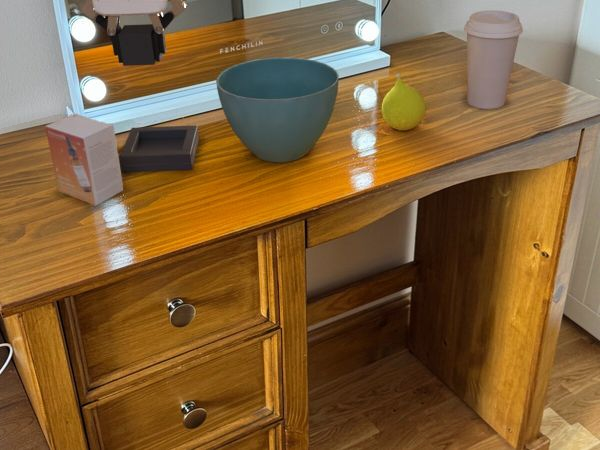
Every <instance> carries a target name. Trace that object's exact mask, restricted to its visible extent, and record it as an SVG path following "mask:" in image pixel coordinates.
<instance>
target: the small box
mask: <svg viewBox="0 0 600 450" xmlns="http://www.w3.org/2000/svg"><path fill="white" fill-rule="evenodd" d="M44 127H45V133H46V138H47V142H48V147H49V148H48V149H49V153H50V157H51V158H50V159H51V163H52V167H53V171H54V172H53V173H54V177H55V181H56V187H57V191H58V192H59V193H62V194H63V195H67V196H69V197H72V198H75V199H77V200H80V201H82V202H85V203H88V204H89V205H91V206H94V207H97V206H98V205H100V204H102V203H104V202H106V201H107V200H109V199H111V198H112V197H114V196H116V195H119V194H120V193H122V192H123V191H124V184H123V178H122V177H123V176H122V169H121V163H120V156H119V152H118V146H117V139H116V133H115V132H116V131H115V126H114V124H112V123H107V122H103V121H100V120H97V119H93V118H90V117H87V116H83V115H80V114H78V113H76V112H75V113H72V114H70V115H68V116H65V117H63V118H61V119H59V120H56V121H53V122H51V123H49V124H46V125H45V126H44Z"/></svg>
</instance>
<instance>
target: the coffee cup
mask: <svg viewBox="0 0 600 450" xmlns="http://www.w3.org/2000/svg"><path fill="white" fill-rule="evenodd" d="M463 30H464V32H465V33H466V101H467V104H468V105H470V106H471V107H473V108H477V109H482V110H494V109H495V110H496V109H499V108H502V107H503V106H505V104H506V99H507V95H508V90H509V85H510V79H511V75H512V72H513V71H512V70H513V66H514V60H515V56H516V53H517V47H518V42H519V37H520V35H522V34H523V32H524V28H523V24H522V23H521V21H520V17H519V16H518V15H517V14H515V13H513V12H509V11H504V10H481V11H476V12H474V13H471V15H470V16H469V18H468V20H467V21H466V23H465V24H464V27H463Z"/></svg>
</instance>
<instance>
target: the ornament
mask: <svg viewBox="0 0 600 450" xmlns="http://www.w3.org/2000/svg"><path fill="white" fill-rule="evenodd" d="M396 68H397V70H399V69H398V68H399V67H398V66H396ZM395 75H396V82H395V84H394V85H393V87H391V89H390V90H389V91H388V92H387V93H386V95H385V96H384V97H383V100H382V103H381V108H380V109H381V115H382V118H383V120H384V121H385V123H386V124H387V125H388V126H389V127H391V128H392V129H395V130H398V131H408V130H412V129H415V128H416V127H417V126H418V125H419V124H420V123H421V122H422V121H423V119H424V117H425V114H426V109H427V108H426V101H425V99H424V97H423V95H422V94H421V92H419V91H418V90H417V89H415V88H414V87H412V86H410V85H408V84H406V83H405V82H404V81H403V80H402V79H403V78H402V77H401V73H399V72H398V73H396V74H395Z"/></svg>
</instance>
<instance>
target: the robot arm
mask: <svg viewBox="0 0 600 450" xmlns="http://www.w3.org/2000/svg"><path fill="white" fill-rule="evenodd" d="M169 3H170V5H172V7H171V8H169V9H168V10H166V9H167V8H168V6H169ZM186 8H187V4H186V2H185V1H184V0H86V1H85V2H84V5H83V6H82V8H81V13H82V14H83V15H84V16H86V17H88V18H89V19H90V20H92V21H94V22H96V24H97V25H99V26H100V27H101V28H102V29H104V30H105V31H106V33H107V34H108V36H110V38H111V39H110V40H111V44H112V51H113V55H114V56H117V59H118V63H119V64H123V62H122V55H121V49H120V43H119V36H118V35H119V33H120V31H121V30H122V27H121V25H120V24H121V16H122V17H123V16H124V17H125V16H146V15H148V16H149V19H150V23H151V24H153V27H154V28H153V31H154V32H153V34H152V39H153V47H154V54H155V61H156V62H158V63H159V62H161V61H162V59H163V56H164V54H165V55H166V54H167V44H166V42H167V41H166V36H165V35H166V34H165V30H166V28H167V27H168V26H169V25H170V24H171V23H172V22H173V20H174V19H175V18H177V17H178V16H180V14H181V13H182V12H184V11H185V10H186ZM163 12H165V13H164V14H163Z"/></svg>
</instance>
